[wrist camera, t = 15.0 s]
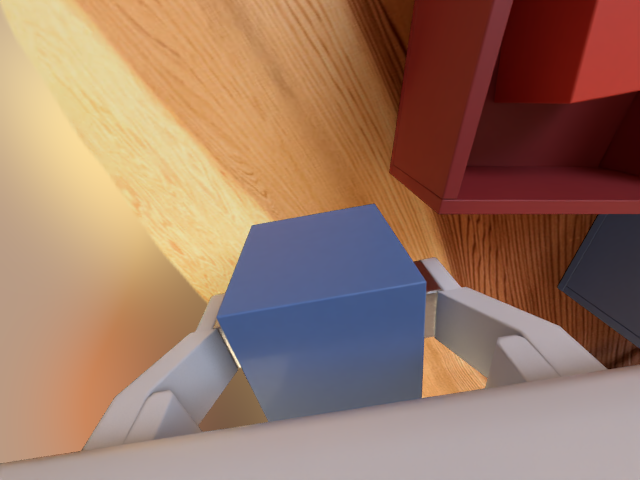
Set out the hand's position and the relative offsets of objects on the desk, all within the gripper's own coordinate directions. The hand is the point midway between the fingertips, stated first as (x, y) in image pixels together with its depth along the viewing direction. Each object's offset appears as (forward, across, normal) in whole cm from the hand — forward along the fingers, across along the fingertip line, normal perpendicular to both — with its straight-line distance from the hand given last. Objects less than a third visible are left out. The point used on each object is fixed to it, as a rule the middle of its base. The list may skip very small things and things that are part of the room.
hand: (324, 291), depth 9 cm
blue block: (+2, 0, 0) cm, 2 cm away
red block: (+8, -12, -6) cm, 16 cm away
